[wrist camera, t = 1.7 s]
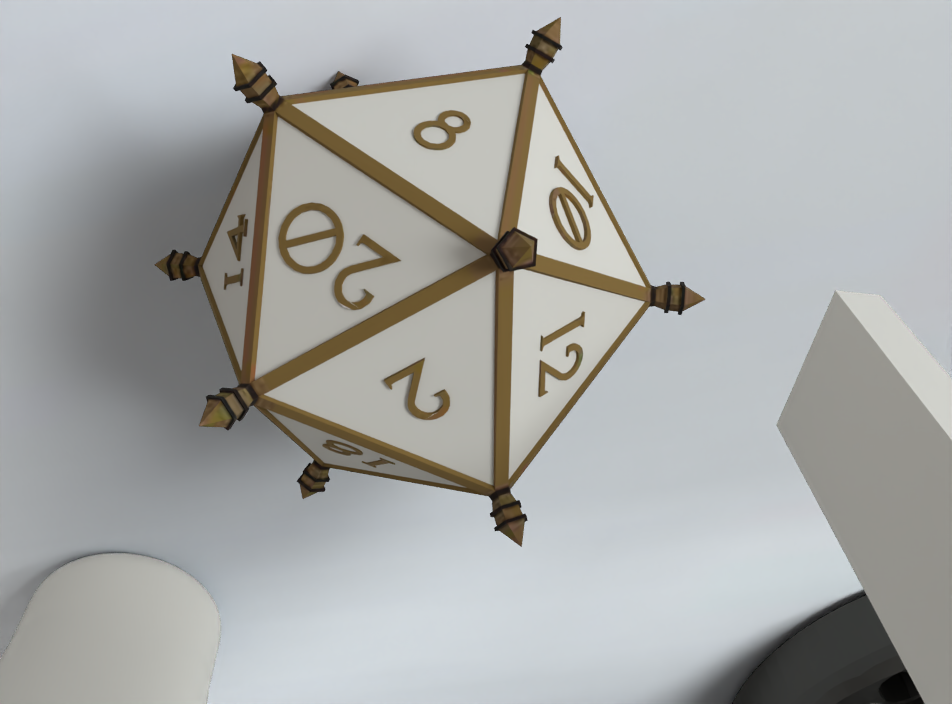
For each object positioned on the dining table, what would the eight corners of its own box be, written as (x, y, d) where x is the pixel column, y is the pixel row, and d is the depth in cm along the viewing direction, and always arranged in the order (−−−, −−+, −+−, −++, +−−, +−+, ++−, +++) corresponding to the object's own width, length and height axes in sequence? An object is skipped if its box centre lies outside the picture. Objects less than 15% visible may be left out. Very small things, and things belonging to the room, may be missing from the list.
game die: (350, 166, 22) (-24, 341, 15) (522, -132, 16) (21, -60, 9) (586, 425, 22) (307, 727, 15) (859, 221, 15) (595, 577, 9)
